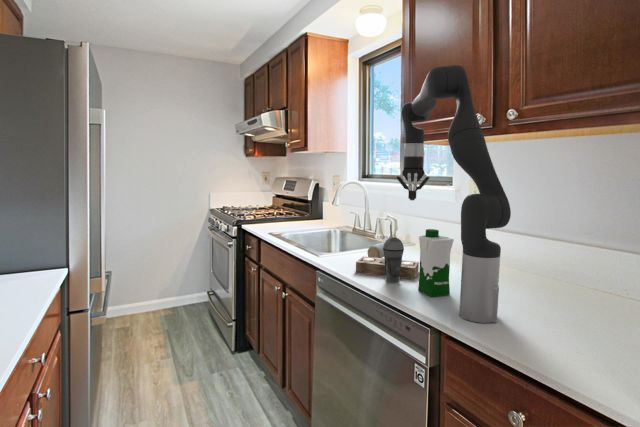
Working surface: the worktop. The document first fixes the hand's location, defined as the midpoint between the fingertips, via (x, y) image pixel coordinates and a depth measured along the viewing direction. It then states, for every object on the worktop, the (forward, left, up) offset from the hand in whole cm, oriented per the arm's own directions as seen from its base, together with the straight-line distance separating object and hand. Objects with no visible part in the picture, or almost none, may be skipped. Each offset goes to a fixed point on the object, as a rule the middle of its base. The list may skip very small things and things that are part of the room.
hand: (412, 200), depth 151 cm
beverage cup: (+3, +21, -27) cm, 35 cm away
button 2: (-1, +11, -26) cm, 28 cm away
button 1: (+14, +11, -26) cm, 31 cm away
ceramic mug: (+13, -5, -27) cm, 30 cm away
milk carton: (-12, +29, -27) cm, 42 cm away
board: (+7, +11, -27) cm, 30 cm away
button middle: (+7, +11, -24) cm, 28 cm away
